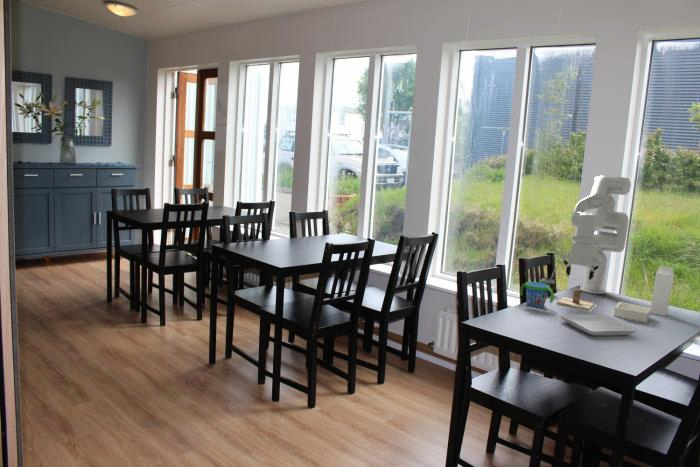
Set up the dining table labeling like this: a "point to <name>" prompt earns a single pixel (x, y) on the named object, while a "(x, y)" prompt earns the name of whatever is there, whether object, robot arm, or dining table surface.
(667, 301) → the milk
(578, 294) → the lid
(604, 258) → the robot arm
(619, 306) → the cream square dish
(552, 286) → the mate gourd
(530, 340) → the dining table surface
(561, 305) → the mat
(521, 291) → the snack cup
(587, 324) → the salad plate
